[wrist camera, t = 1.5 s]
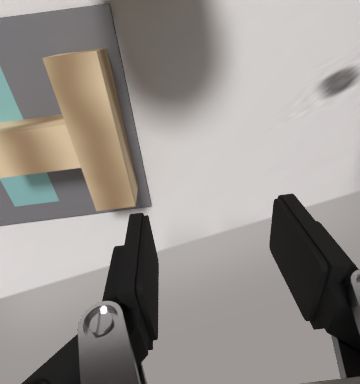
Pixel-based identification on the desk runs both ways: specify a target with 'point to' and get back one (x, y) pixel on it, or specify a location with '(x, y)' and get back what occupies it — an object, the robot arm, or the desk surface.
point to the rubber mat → (47, 102)
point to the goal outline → (25, 184)
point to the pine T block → (76, 132)
